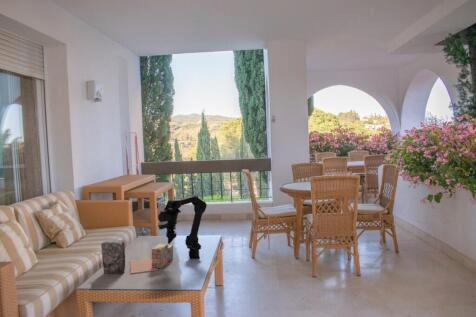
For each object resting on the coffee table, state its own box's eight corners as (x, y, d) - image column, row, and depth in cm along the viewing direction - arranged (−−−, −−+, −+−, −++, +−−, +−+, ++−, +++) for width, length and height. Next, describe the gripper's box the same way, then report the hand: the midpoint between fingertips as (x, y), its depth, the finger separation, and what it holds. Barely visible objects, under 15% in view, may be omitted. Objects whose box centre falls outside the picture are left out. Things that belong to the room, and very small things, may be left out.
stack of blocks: (164, 257, 260) (164, 240, 259) (173, 258, 259) (173, 240, 258) (151, 267, 239) (151, 248, 238) (160, 268, 238) (160, 249, 237)
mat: (154, 258, 260) (154, 257, 260) (157, 270, 235) (157, 269, 235) (130, 261, 255) (130, 260, 255) (130, 274, 231) (130, 273, 230)
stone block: (102, 274, 231) (100, 242, 230) (106, 270, 238) (104, 239, 237) (123, 274, 231) (121, 242, 230) (127, 270, 238) (125, 239, 237)
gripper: (159, 211, 251) (155, 232, 255) (160, 224, 234) (156, 246, 238) (176, 213, 254) (171, 233, 258) (178, 226, 237) (174, 248, 241)
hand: (168, 240), depth 249 cm, fingers open, 9 cm apart
